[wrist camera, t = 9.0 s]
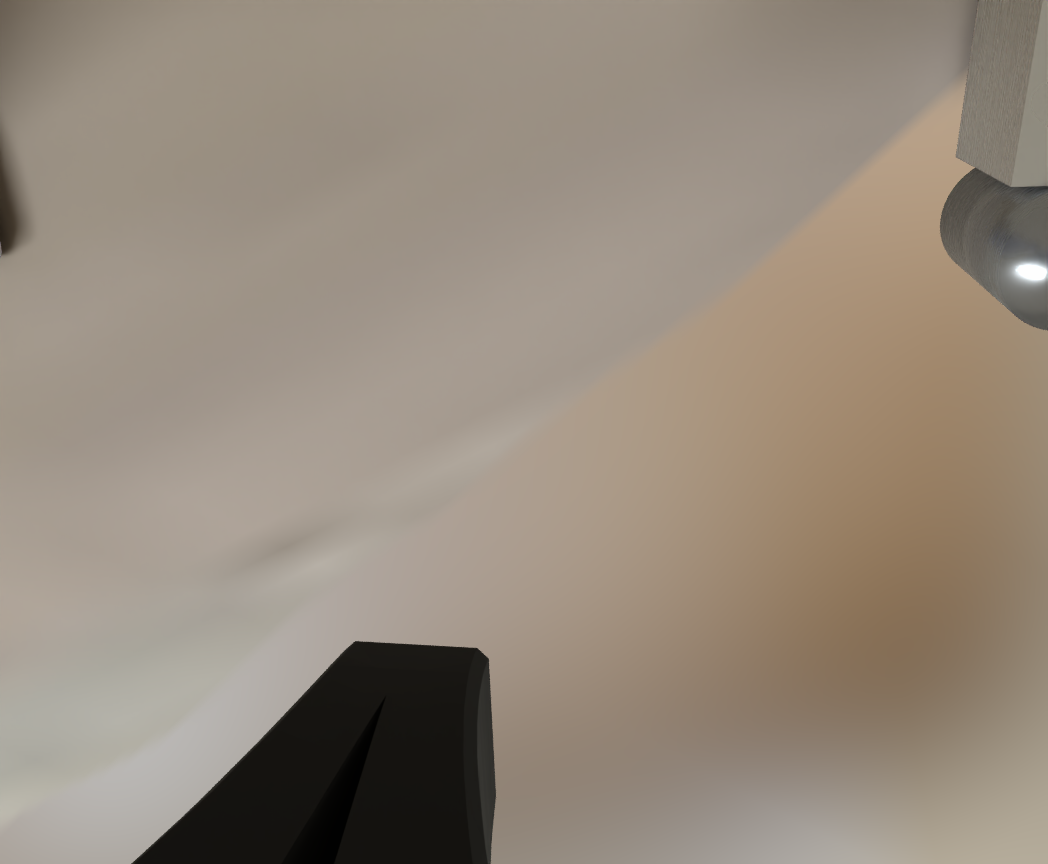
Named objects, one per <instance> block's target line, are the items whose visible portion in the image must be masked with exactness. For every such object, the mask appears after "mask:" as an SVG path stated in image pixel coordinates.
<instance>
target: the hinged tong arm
mask: <svg viewBox="0 0 1048 864" xmlns="http://www.w3.org/2000/svg"><path fill="white" fill-rule="evenodd" d="M956 157H957V158H959V159H960V160H962V161H964V162H966V163H968V164H969V165H971V166H973V167H975V168H974V169H973V170H972V171H970V172H969V173H968V174H966V175H965V176H964V177H963V178H962V179H961V180H960V181H959V182H958V183H957V185H956V186H955V187H954V188H953V190H952V191H951V193H950V195H949V196H948V198H947V201H946V203H945V205H944V208H943V211H942V215H941V222H940V233H941V238H942V242H943V245H944V248H945V250H946V251H947V253H948V255H949V256H950V257H951V259H952V260H953V261H954V262H955V263H956V264H958V265H959V266H960V267H961V268H962V269H963V270H964V271H965V272H967V273H968V274H969V275H970V276H971V277H972V278H973V279H975V280H976V281H977V282H978V283H979V284H980V285H981V286H983V287H984V288H985V289H986V290H987V291H988V292H989V293H990V294H992V295H993V296H994V297H995V298H996V299H997V300H998V301H999V302H1001V303H1002V304H1003V305H1004V306H1005V307H1006V308H1007V309H1008V310H1010V311H1011V312H1012V313H1013V314H1014V315H1015V316H1016V317H1018V318H1019V319H1020V320H1022V321H1023V322H1025V323H1027V324H1029V325H1031V326H1033V327H1036V328H1039V329H1043V330H1048V0H978V5H977V12H976V19H975V26H974V33H973V40H972V47H971V54H970V61H969V68H968V75H967V82H966V89H965V96H964V103H963V110H962V117H961V124H960V131H959V138H958V145H957V152H956Z"/></svg>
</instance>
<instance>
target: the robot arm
mask: <svg viewBox="0 0 1048 864" xmlns="http://www.w3.org/2000/svg"><path fill="white" fill-rule="evenodd" d="M1 254H2V251H1V242H0V257H1ZM494 770H495V769H494V751H493V731H492V712H491V695H490V674H489V659H488V658H487V657H486V656H485V655H484V654H483V653H482V652H481V651H480V650H479V649H478V648H466V647H448V646H431V645H412V644H395V643H376V642H359V641H355V642H354V643H353V644H352V645H350V646H349V647H348V648H347V649H346V650H345V651H344V652H343V653H342V654H341V655H340V656H339V657H338V658H337V659H336V660H335V661H334V662H333V663H332V664H331V665H330V667H329V668H328V669H327V670H326V671H325V672H324V673H323V674H322V675H321V676H320V677H319V678H318V679H317V680H316V682H315V683H314V684H313V685H312V686H311V687H310V688H309V689H308V690H307V691H306V692H305V693H304V694H303V695H302V697H301V698H300V699H299V700H298V701H297V702H296V703H295V704H294V705H293V706H292V707H291V708H290V709H289V710H288V711H287V712H286V713H285V715H284V716H283V717H282V718H281V719H280V720H279V721H278V722H277V723H276V724H275V725H274V726H273V727H272V728H271V729H270V730H269V731H268V732H267V733H266V734H265V735H264V736H263V738H262V739H261V740H260V741H259V742H258V743H257V744H256V745H255V746H254V747H253V748H252V749H251V750H250V751H249V752H248V753H247V754H246V755H245V756H244V757H243V758H242V759H241V760H240V761H239V762H238V763H237V764H236V765H235V766H234V767H233V768H232V769H231V770H230V771H229V772H228V773H227V774H226V775H225V776H224V777H223V778H222V779H221V780H220V781H219V782H218V783H217V784H216V785H215V786H214V787H213V788H212V789H211V790H210V791H209V792H208V793H207V794H206V795H205V796H204V797H203V798H202V799H201V800H200V801H199V802H198V803H197V804H196V805H194V807H192V808H191V809H190V810H189V811H188V812H187V813H186V814H185V815H184V816H183V817H182V818H181V819H180V820H179V821H178V822H177V823H175V824H174V825H173V826H172V827H171V828H170V829H169V830H168V831H167V832H166V833H164V834H163V835H162V836H161V837H160V838H159V839H158V840H157V841H156V842H155V843H154V844H152V845H151V846H150V847H149V848H148V849H147V850H146V851H145V852H144V853H143V854H142V855H141V856H139V857H138V858H137V859H136V860H135V861H134V862H133V863H132V864H490V862H491V841H492V829H493V819H494V808H495V799H496V789H495V771H494Z"/></svg>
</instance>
